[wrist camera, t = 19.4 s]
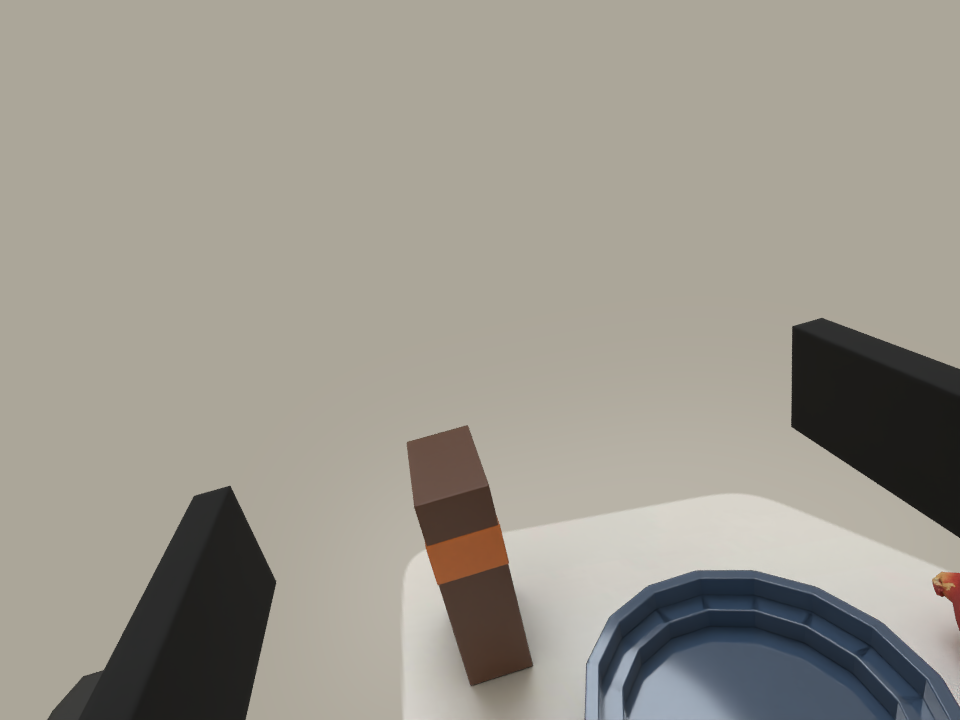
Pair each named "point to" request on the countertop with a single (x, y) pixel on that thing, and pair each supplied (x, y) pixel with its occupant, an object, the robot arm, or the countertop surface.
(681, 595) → the bowl
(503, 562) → the snack carton
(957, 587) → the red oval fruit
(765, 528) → the countertop surface
